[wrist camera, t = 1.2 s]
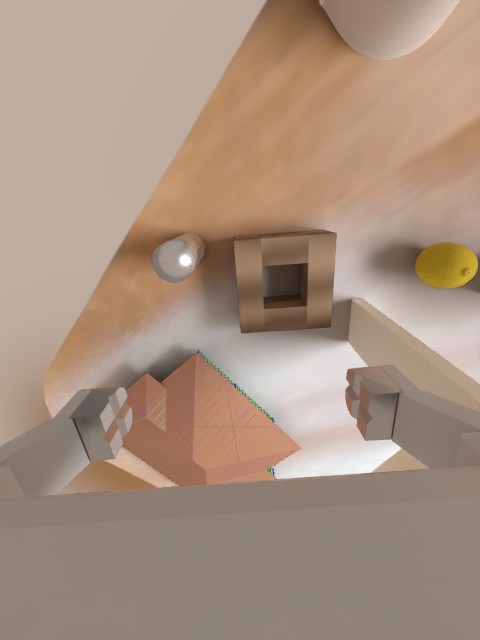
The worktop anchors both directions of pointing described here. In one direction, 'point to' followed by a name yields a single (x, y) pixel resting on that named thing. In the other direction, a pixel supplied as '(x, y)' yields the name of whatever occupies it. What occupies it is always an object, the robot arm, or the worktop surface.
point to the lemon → (446, 265)
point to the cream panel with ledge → (408, 356)
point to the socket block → (313, 281)
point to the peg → (178, 257)
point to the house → (202, 428)
